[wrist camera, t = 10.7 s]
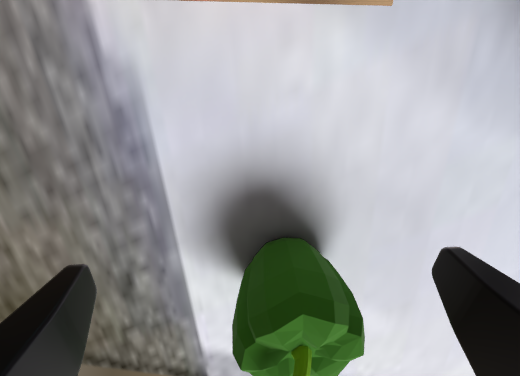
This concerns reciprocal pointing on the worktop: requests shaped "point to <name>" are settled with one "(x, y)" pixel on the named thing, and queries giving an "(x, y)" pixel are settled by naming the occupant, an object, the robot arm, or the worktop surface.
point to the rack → (315, 1)
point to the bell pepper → (295, 314)
